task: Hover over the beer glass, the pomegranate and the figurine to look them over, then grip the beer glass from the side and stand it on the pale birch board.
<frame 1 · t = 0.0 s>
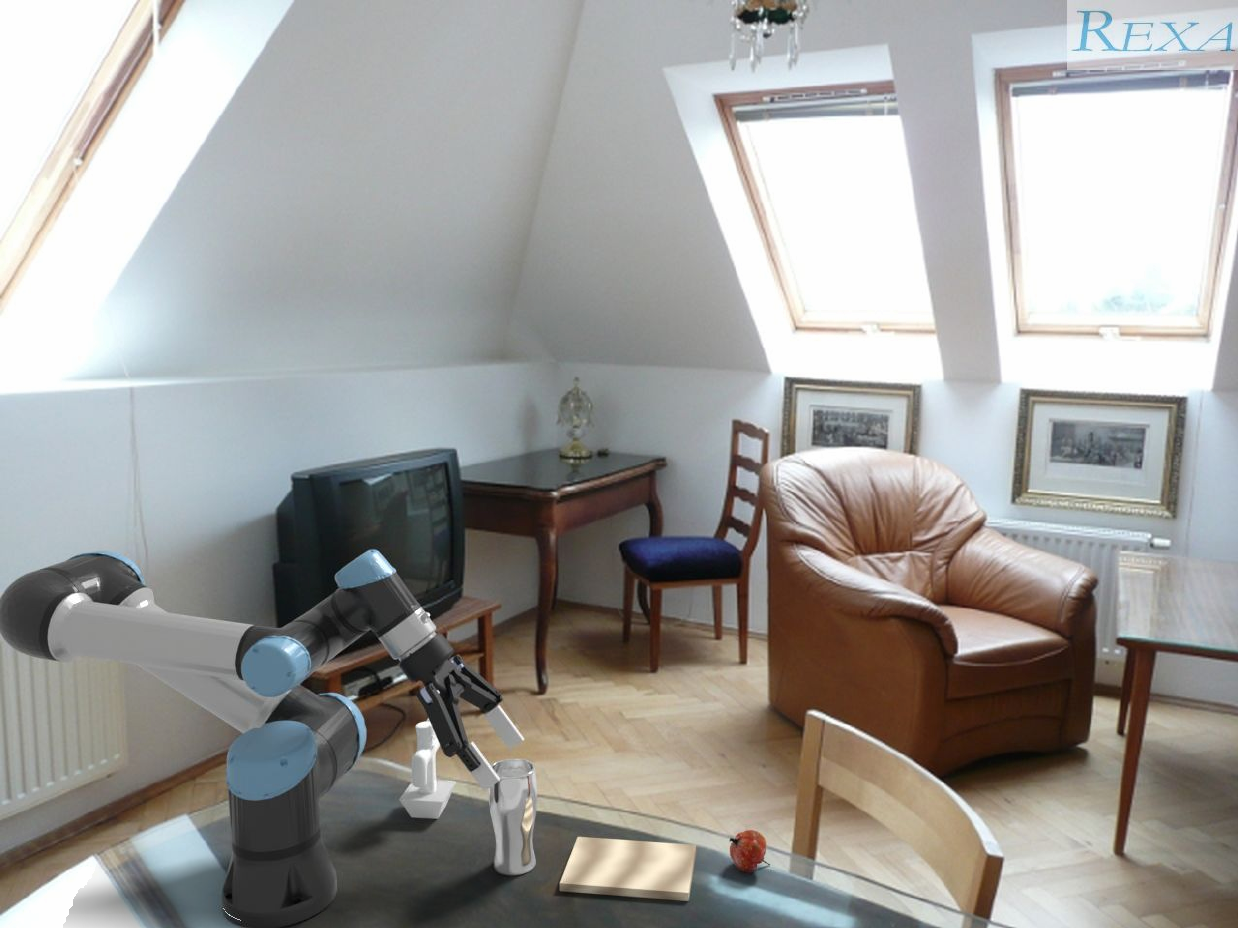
hand: (505, 764, 150), 15 cm above the table, tool tilted 35°, fingers open, 13 cm apart
beer glass: (514, 865, 152), on the table
pomegranate: (749, 868, 151), on the table
figurine: (428, 812, 168), on the table
birch board: (630, 870, 150), on the table
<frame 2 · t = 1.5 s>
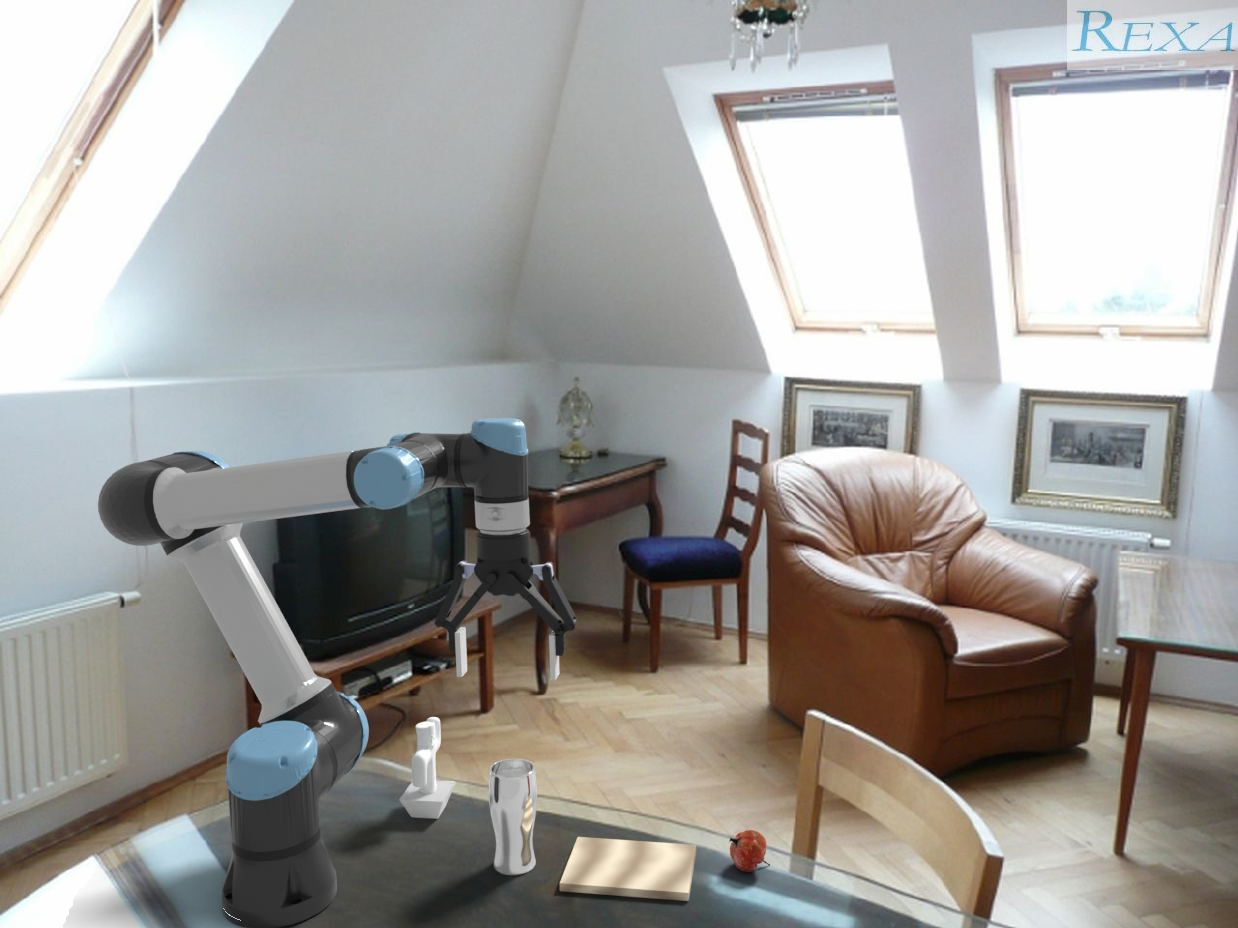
hand: (508, 675, 148), 29 cm above the table, tool pointing down, fingers open, 13 cm apart
nothing on the table moved.
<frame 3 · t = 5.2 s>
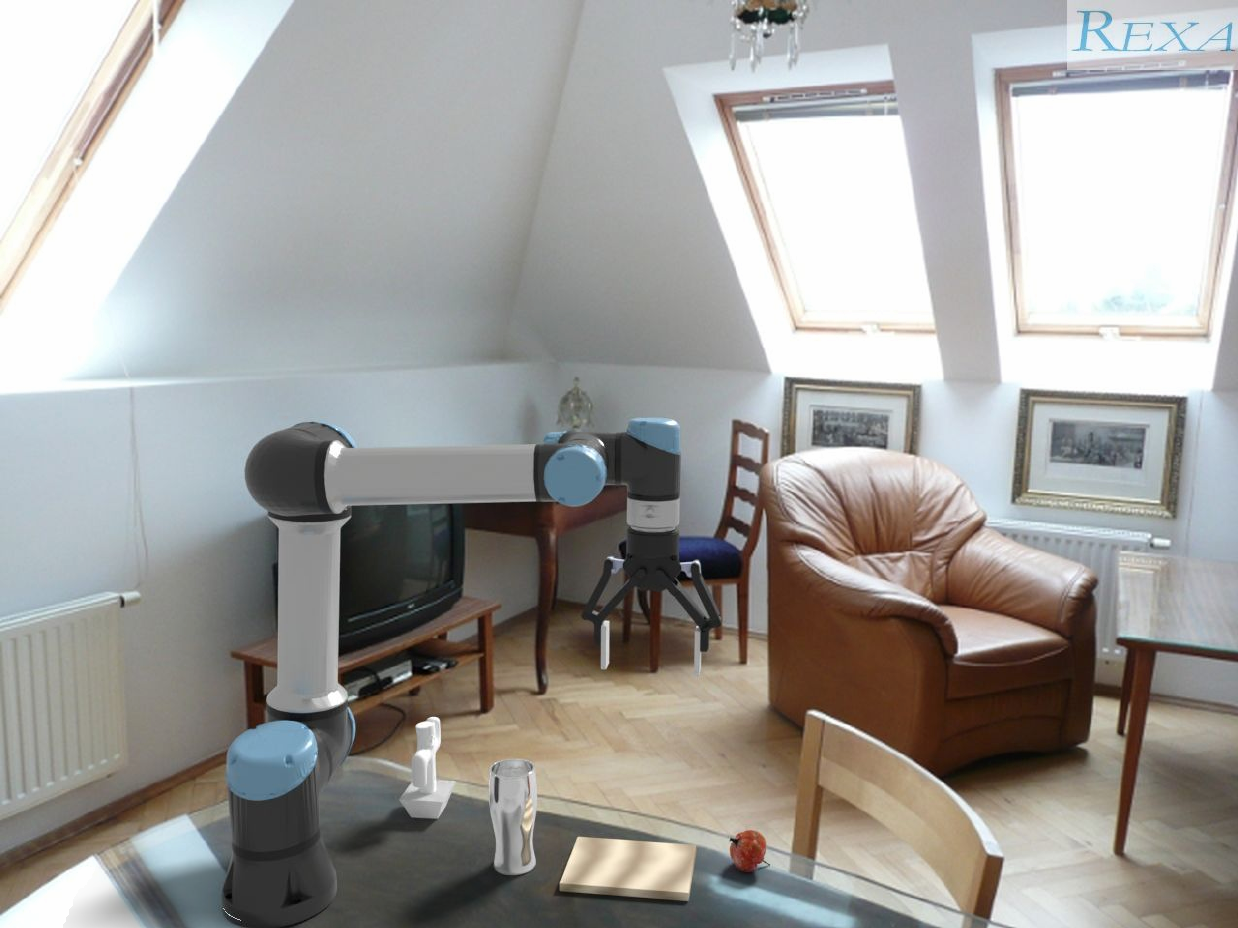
hand: (650, 669, 151), 28 cm above the table, tool pointing down, fingers open, 13 cm apart
nothing on the table moved.
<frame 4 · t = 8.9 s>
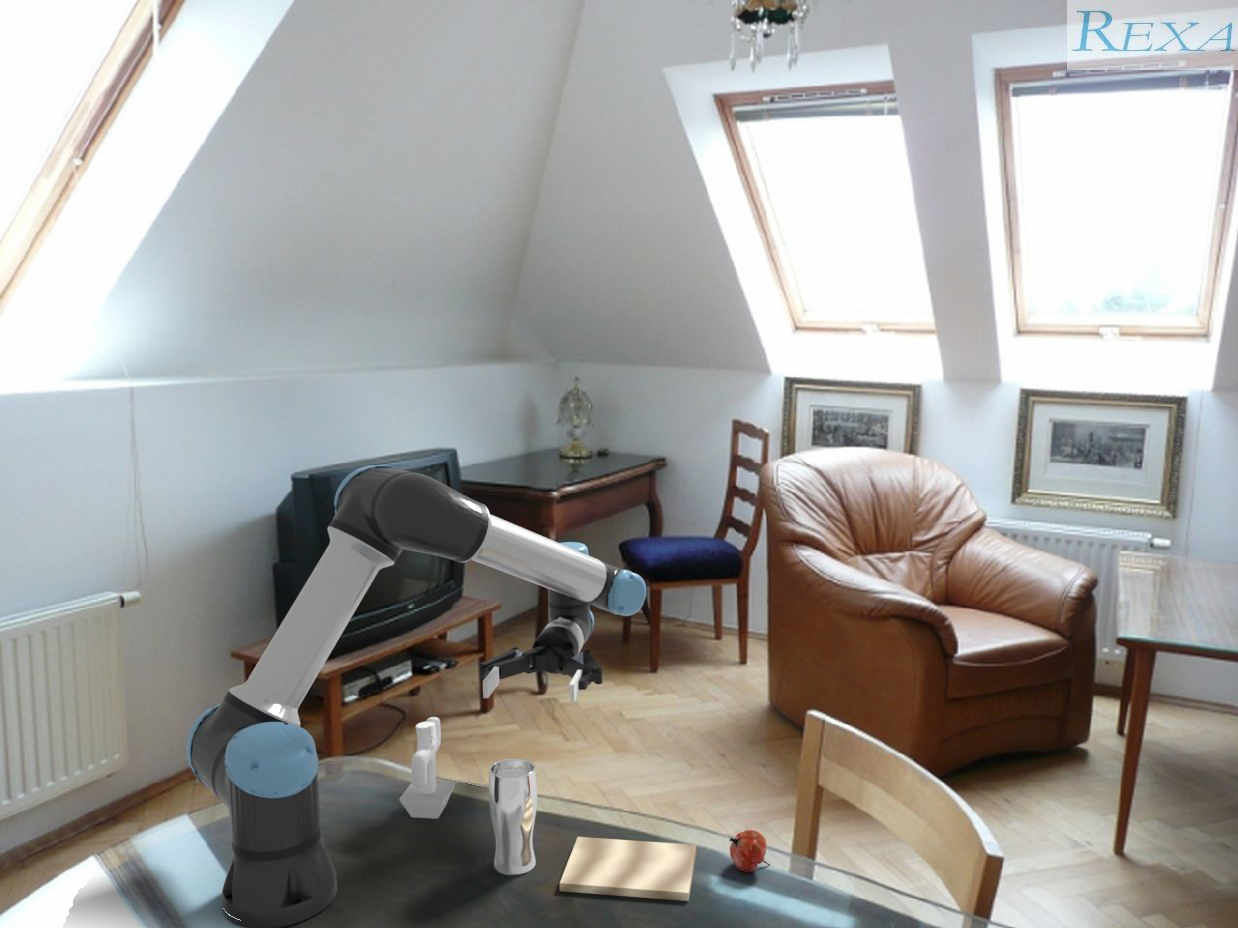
hand: (528, 691, 159), 22 cm above the table, tool horizontal, fingers open, 13 cm apart
nothing on the table moved.
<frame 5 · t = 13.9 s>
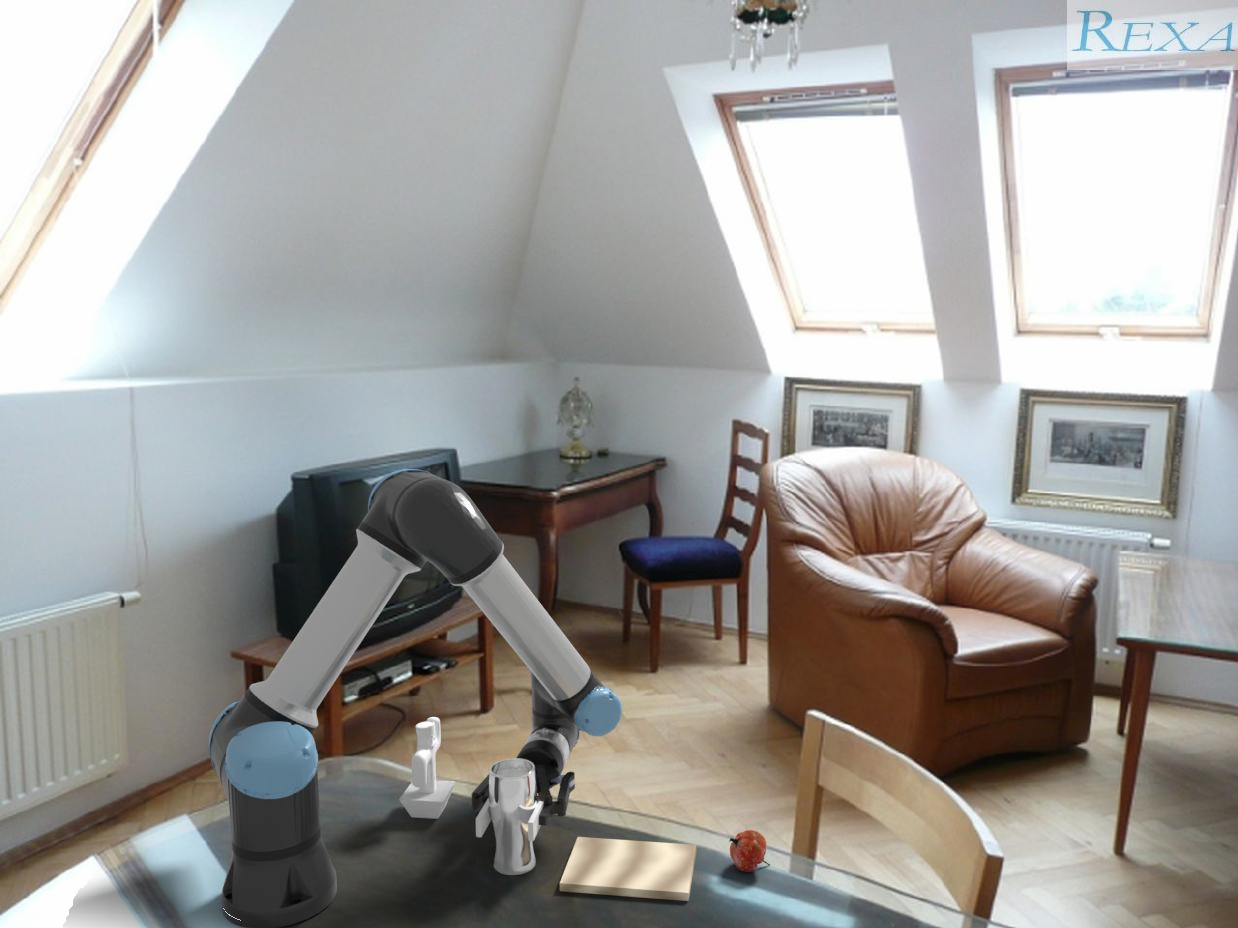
hand: (504, 829, 146), 8 cm above the table, tool horizontal, fingers closed on beer glass, 7 cm apart
beer glass: (515, 865, 152), on the table, touching gripper
everything else where it was.
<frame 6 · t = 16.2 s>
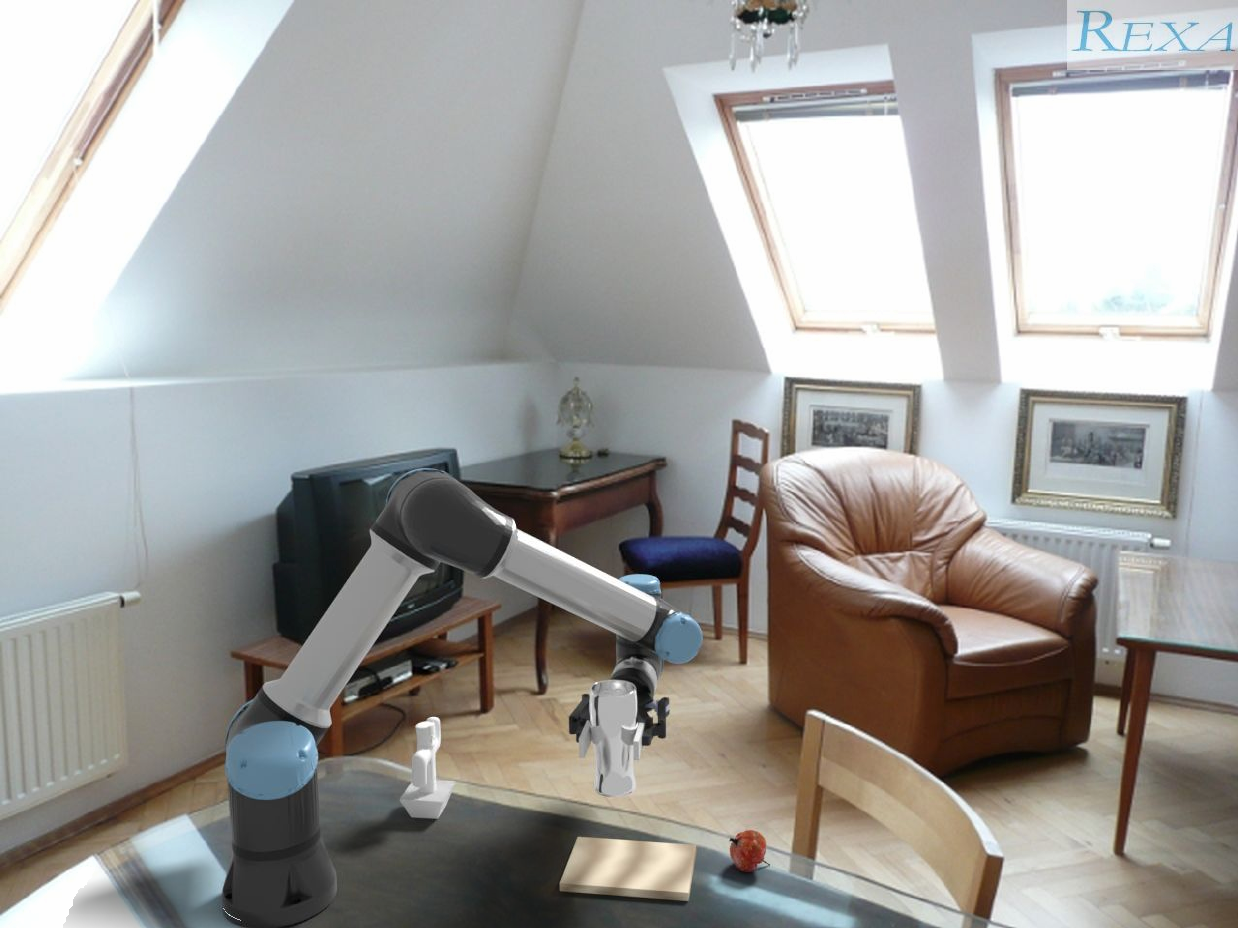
hand: (608, 749, 142), 20 cm above the table, tool horizontal, fingers closed on beer glass, 7 cm apart
beer glass: (615, 789, 149), point 12 cm above the table, touching gripper
everything else where it was.
when the fingers open (10 cm above the table, at t = 18.6 s): beer glass drops 1 cm, resting on birch board.
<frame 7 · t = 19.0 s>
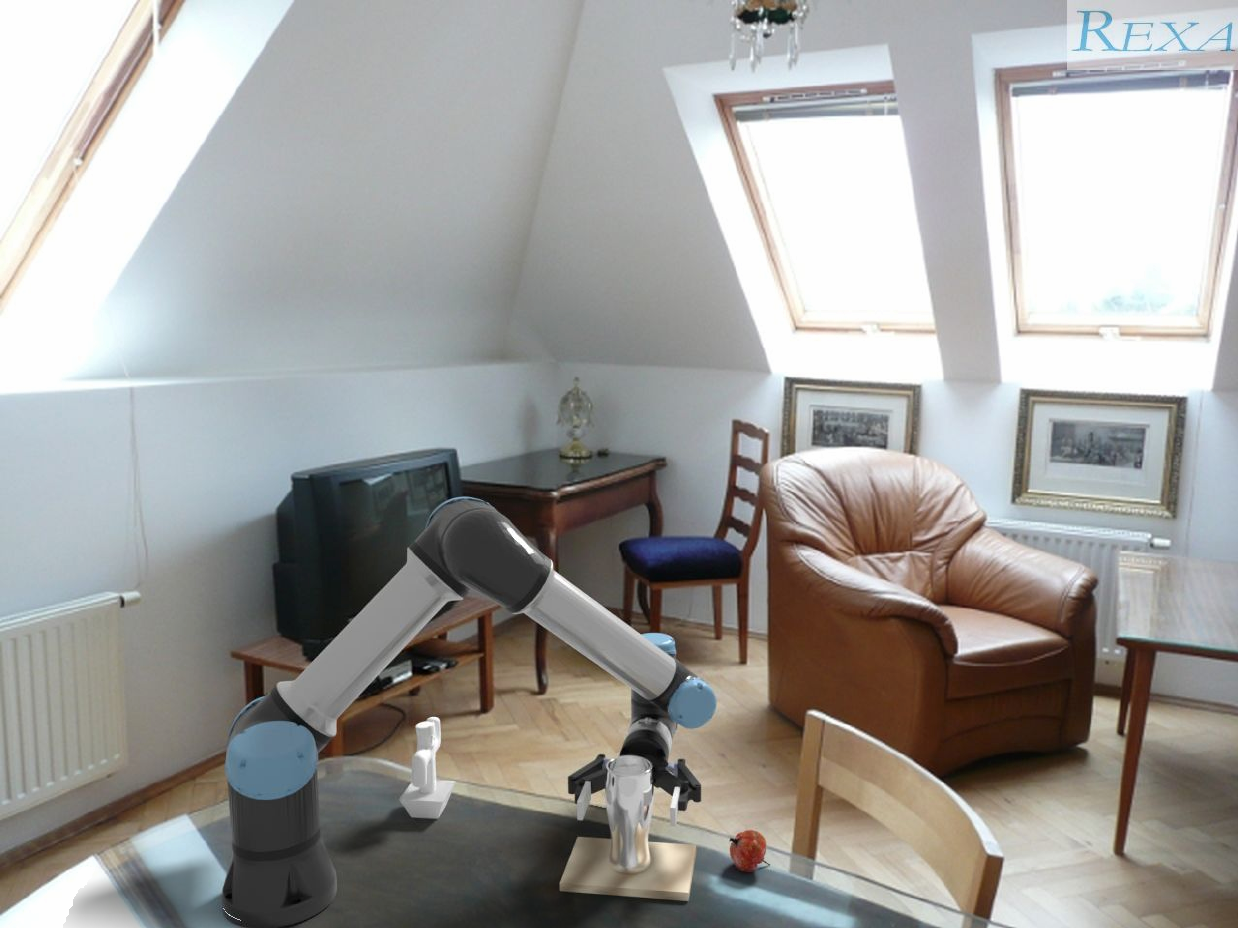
hand: (625, 814, 145), 10 cm above the table, tool horizontal, fingers open, 12 cm apart
beer glass: (629, 863, 150), point 1 cm above the table, touching birch board
everything else where it was.
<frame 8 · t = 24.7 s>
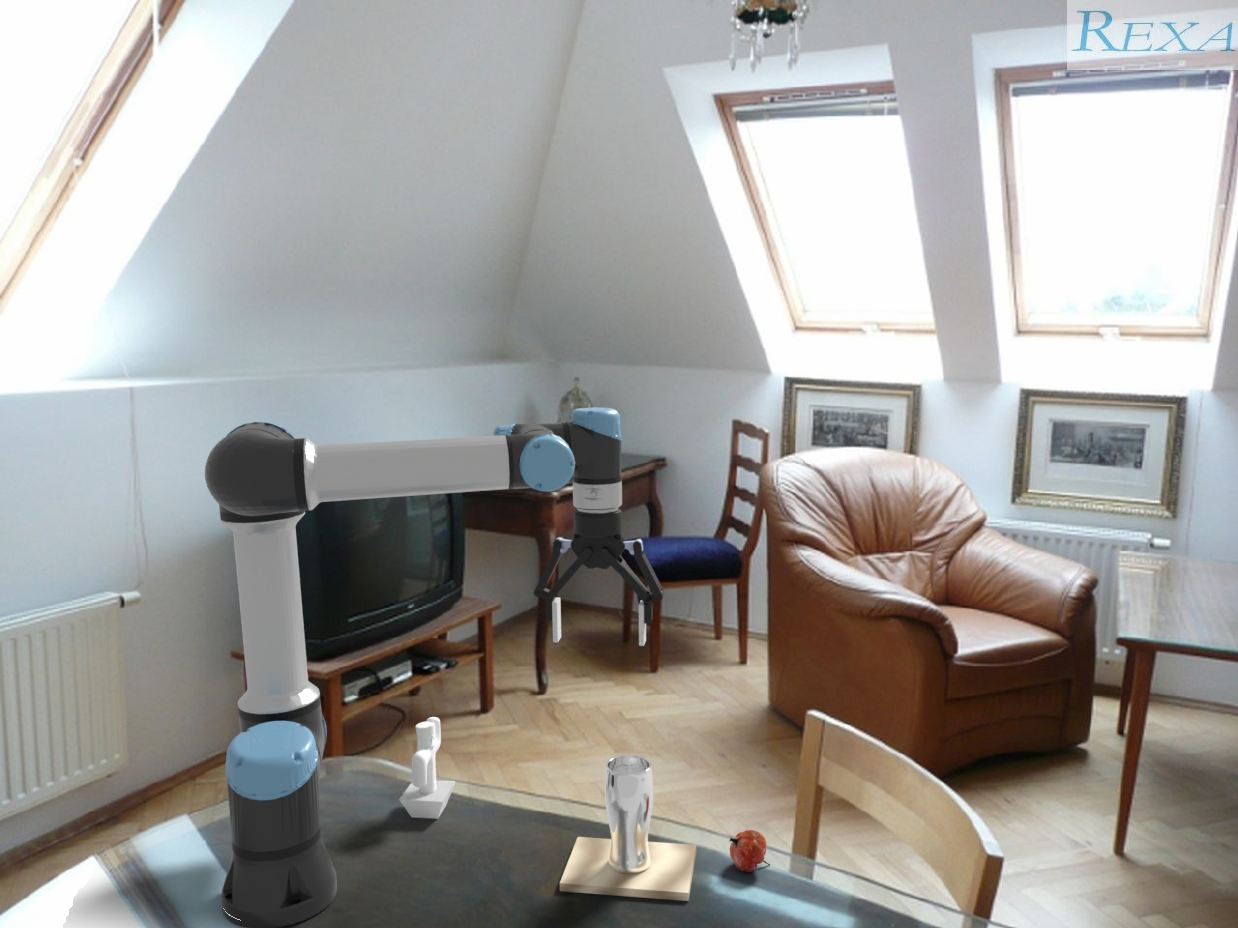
hand: (599, 641, 163), 29 cm above the table, tool pointing down, fingers open, 13 cm apart
nothing on the table moved.
at the end: beer glass inside the target area on the birch board (0.1 cm from its centre), point 1.0 cm above the birch board's base; beer glass tilted 0°; the gripper is holding nothing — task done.
